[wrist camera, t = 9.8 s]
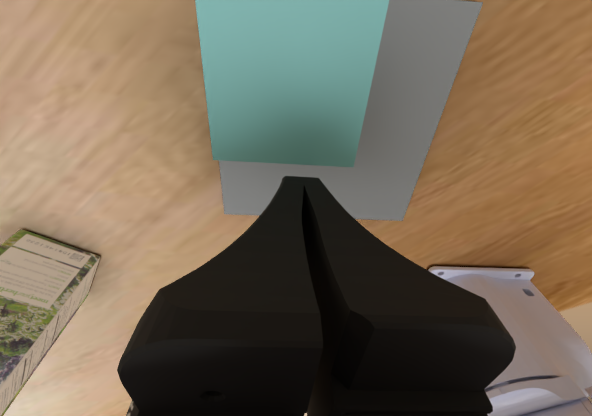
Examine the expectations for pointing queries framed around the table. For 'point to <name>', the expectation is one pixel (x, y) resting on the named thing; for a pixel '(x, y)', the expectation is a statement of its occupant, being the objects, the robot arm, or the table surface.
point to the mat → (380, 117)
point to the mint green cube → (288, 77)
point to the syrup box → (36, 302)
